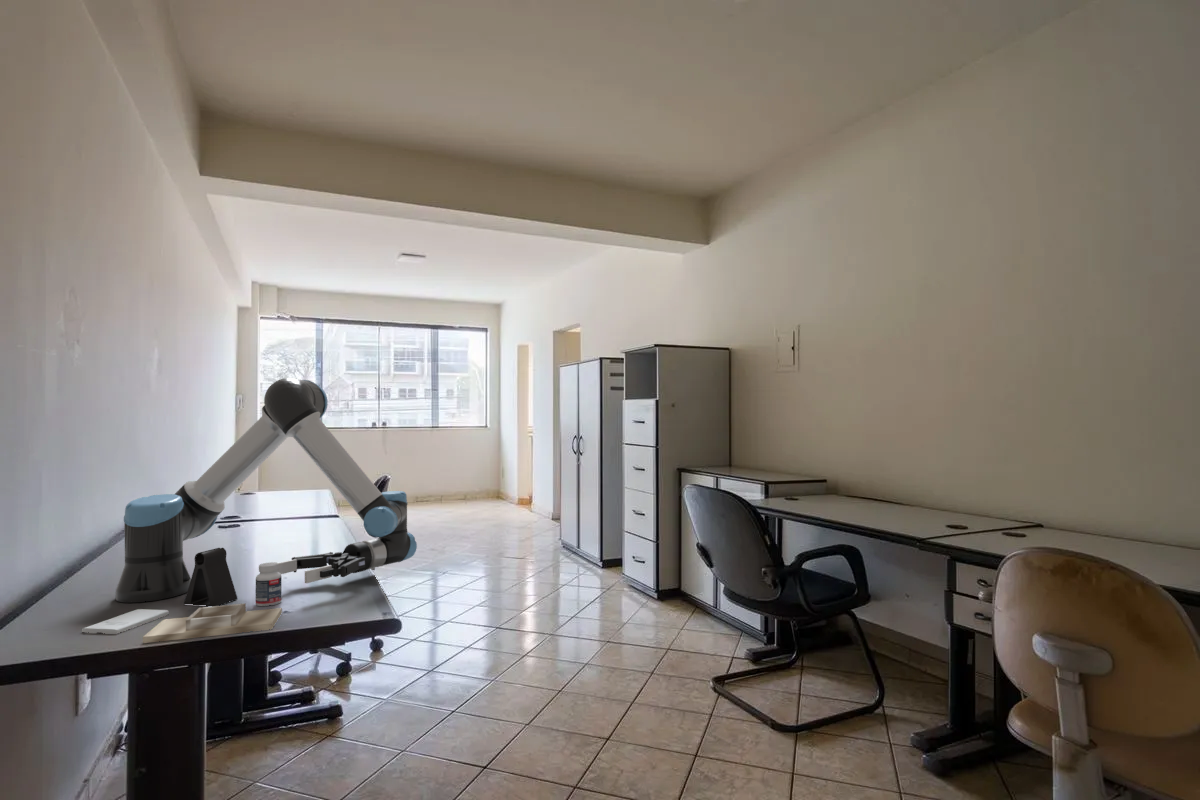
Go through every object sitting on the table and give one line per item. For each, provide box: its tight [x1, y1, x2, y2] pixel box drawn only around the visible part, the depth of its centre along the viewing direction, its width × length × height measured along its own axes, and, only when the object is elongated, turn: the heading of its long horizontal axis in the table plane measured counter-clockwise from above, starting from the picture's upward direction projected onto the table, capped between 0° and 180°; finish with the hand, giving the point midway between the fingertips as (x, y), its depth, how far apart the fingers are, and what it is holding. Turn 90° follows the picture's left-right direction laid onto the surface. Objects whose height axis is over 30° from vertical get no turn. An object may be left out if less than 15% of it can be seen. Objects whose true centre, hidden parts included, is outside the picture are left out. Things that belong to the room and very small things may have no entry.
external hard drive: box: [81, 608, 170, 635], centre depth 133 cm, size 2×8×12 cm
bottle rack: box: [142, 603, 283, 644], centre depth 129 cm, size 22×11×3 cm, turn 107°
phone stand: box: [183, 547, 238, 606], centre depth 147 cm, size 9×6×12 cm, turn 76°
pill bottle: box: [255, 561, 283, 607], centre depth 145 cm, size 5×5×9 cm
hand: (287, 573), depth 149 cm, fingers open, 13 cm apart
